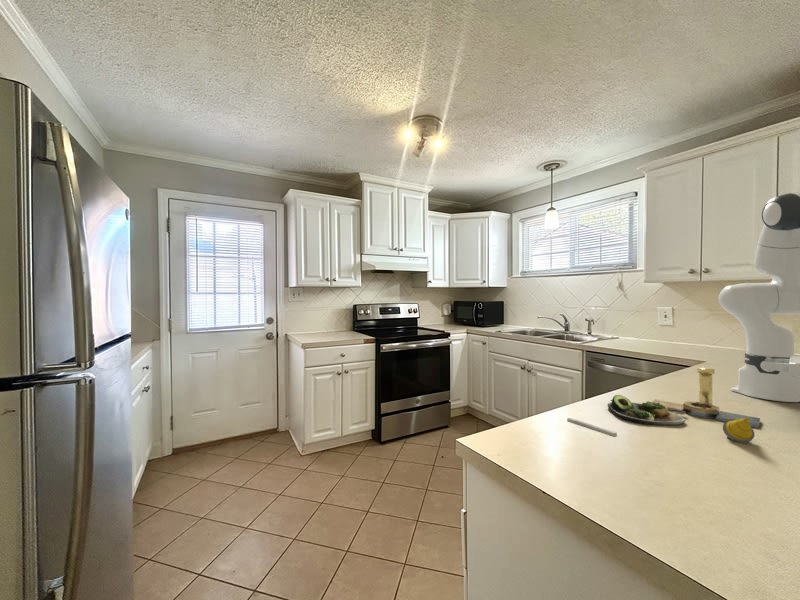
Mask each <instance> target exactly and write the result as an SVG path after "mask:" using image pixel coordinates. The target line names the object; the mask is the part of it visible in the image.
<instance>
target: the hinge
mask: <svg viewBox="0 0 800 600" xmlns="http://www.w3.org/2000/svg"><path fill="white" fill-rule="evenodd" d="M651 402H654V403H660V405H663V406H664V405H665V404H666V405H667V406H666V407H668V408H670V409H676V410H681V411H685V412H686V413H685V414H687V415H690V416H692V417H698V418H701V419H702V418H703V419H716V421H719V422H724V423H725V422H726V421H727V420H730V419H736V420H739V419H745V418H748V419H749V422H750V426H751V428H752V429H759V426H760V424H761V418H760V417H756V416H755V417H754V416H749V415H743V414H738V413H733V412H727V411H722V410H721V411H720V407H719V406H716V405H714V404H712V405H711V404H707V403H701V402H699V401H685V402H684V403H679V402H678V403H677V402H671V401H667V400H663V399H662V400H661V399H656V398H655V399H654V400H652V401H651Z"/></svg>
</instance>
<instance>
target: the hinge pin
mask: <svg viewBox="0 0 800 600" xmlns="http://www.w3.org/2000/svg"><path fill="white" fill-rule="evenodd" d="M696 372H697V373H698V393H699V394H698V398H699V399H698V400H699V401H698V402H701V403H707V404H711V405H713V375H715V369H714V368H711V367H702V366H701V367H699V366H698V367H696Z"/></svg>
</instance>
